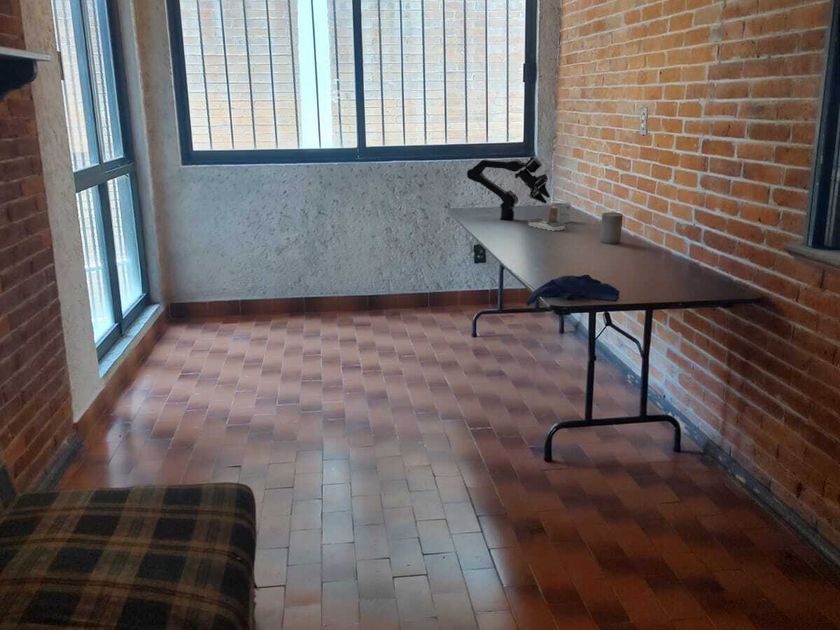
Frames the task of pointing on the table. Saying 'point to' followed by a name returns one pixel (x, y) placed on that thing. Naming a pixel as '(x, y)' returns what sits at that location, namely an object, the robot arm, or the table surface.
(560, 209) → the light bulb box
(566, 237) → the table surface
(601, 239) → the pillar candle
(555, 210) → the fader
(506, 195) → the robot arm
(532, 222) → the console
